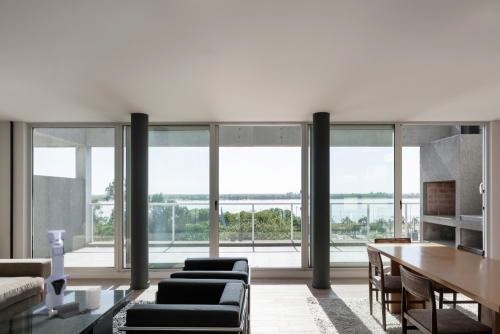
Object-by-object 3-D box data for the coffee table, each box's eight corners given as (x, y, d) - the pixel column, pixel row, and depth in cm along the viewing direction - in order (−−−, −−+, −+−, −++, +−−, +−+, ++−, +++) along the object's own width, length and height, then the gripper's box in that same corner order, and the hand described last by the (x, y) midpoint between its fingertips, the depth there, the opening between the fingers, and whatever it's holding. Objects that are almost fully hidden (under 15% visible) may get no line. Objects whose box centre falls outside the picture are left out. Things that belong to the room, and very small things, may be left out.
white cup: (95, 309, 201) (95, 290, 202) (82, 309, 203) (82, 290, 204) (104, 305, 209) (104, 287, 210) (91, 305, 211) (91, 287, 212)
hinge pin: (52, 317, 189) (52, 310, 189) (48, 317, 191) (48, 309, 191) (77, 310, 201) (77, 303, 201) (73, 309, 203) (73, 302, 203)
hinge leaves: (65, 318, 188) (65, 309, 189) (46, 314, 196) (46, 306, 197) (86, 311, 198) (86, 303, 199) (67, 308, 207) (67, 300, 207)
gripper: (49, 271, 188) (49, 298, 187) (75, 266, 201) (75, 292, 200) (41, 270, 192) (40, 297, 191) (67, 265, 204) (67, 291, 203)
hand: (57, 294), depth 195 cm, fingers closed
